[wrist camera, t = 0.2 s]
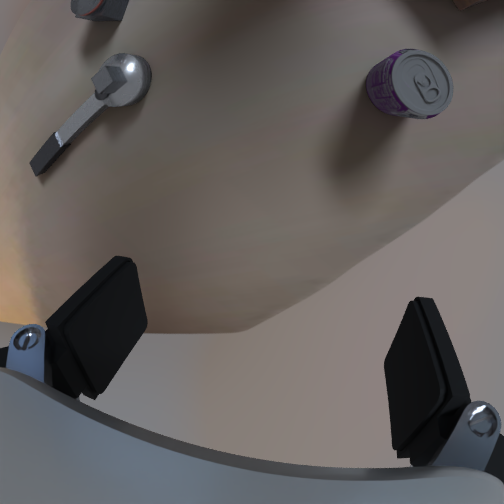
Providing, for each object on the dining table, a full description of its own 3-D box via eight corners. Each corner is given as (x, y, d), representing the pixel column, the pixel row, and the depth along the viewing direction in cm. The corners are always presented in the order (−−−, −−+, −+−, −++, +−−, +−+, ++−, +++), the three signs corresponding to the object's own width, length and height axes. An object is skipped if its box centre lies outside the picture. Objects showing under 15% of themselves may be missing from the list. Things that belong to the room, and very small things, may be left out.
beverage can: (427, 97, 29) (470, 97, 19) (388, 125, 32) (419, 135, 22) (393, 52, 27) (425, 32, 17) (353, 81, 31) (370, 69, 20)
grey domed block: (94, 21, 31) (65, 16, 25) (105, -10, 28) (78, -18, 22) (121, 20, 31) (93, 13, 25) (133, -12, 28) (106, -23, 22)
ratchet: (49, 182, 46) (26, 193, 41) (34, 149, 44) (10, 158, 38) (160, 85, 35) (135, 84, 30) (138, 44, 33) (112, 39, 27)
